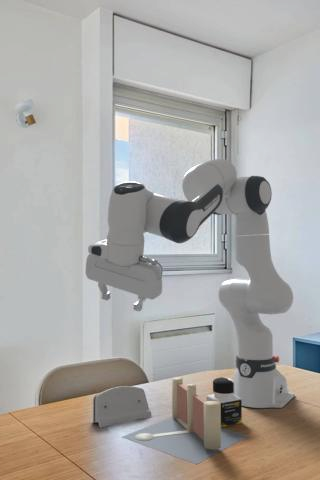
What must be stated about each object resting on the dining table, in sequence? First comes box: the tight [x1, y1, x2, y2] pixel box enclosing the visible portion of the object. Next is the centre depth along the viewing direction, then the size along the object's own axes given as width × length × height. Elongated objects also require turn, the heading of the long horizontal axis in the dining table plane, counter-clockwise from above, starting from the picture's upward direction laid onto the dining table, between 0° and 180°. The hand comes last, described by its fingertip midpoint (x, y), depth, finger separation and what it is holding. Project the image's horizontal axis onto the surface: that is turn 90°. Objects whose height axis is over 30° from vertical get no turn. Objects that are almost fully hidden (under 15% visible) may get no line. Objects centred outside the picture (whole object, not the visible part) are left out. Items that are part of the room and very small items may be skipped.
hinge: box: [92, 385, 153, 429], centre depth 137 cm, size 17×5×10 cm, turn 118°
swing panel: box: [193, 394, 222, 449], centre depth 117 cm, size 13×4×10 cm, turn 18°
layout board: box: [121, 416, 249, 465], centre depth 122 cm, size 22×24×1 cm
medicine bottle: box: [206, 376, 243, 428], centre depth 133 cm, size 7×7×12 cm
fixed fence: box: [171, 377, 197, 433], centre depth 131 cm, size 14×3×12 cm, turn 18°
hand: (121, 304), depth 117 cm, fingers open, 8 cm apart
